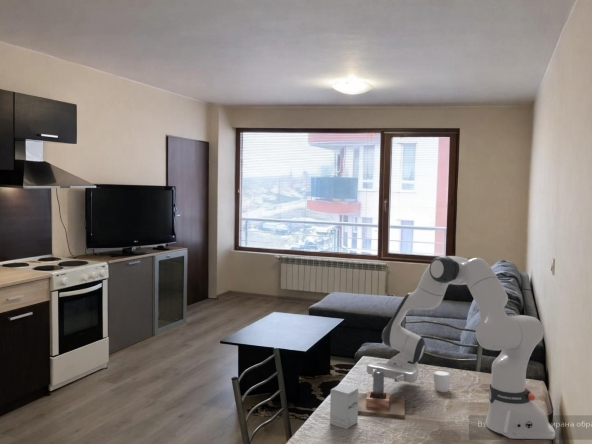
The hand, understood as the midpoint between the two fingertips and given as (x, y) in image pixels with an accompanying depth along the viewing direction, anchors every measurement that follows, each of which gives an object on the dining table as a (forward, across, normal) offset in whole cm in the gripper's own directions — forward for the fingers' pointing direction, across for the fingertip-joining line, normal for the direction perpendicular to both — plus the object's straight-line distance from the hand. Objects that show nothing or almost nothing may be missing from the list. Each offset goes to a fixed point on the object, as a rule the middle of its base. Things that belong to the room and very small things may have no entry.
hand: (384, 377), depth 210 cm
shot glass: (-24, +16, +10) cm, 31 cm away
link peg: (+6, 0, +8) cm, 10 cm away
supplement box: (+27, -4, +10) cm, 29 cm away
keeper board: (+6, 0, +9) cm, 11 cm away
